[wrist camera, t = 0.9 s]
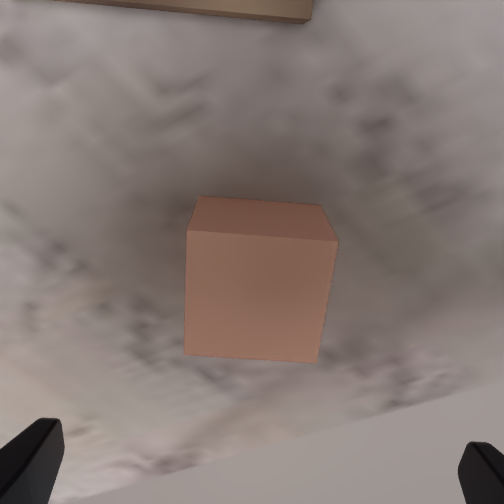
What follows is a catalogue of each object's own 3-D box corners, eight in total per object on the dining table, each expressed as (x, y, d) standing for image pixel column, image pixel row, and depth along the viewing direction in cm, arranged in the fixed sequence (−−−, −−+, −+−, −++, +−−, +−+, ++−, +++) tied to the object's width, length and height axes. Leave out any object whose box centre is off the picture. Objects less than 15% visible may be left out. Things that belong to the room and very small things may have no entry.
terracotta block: (320, 204, 18) (338, 241, 14) (303, 307, 20) (316, 363, 16) (199, 194, 17) (186, 230, 14) (195, 299, 19) (183, 354, 16)
